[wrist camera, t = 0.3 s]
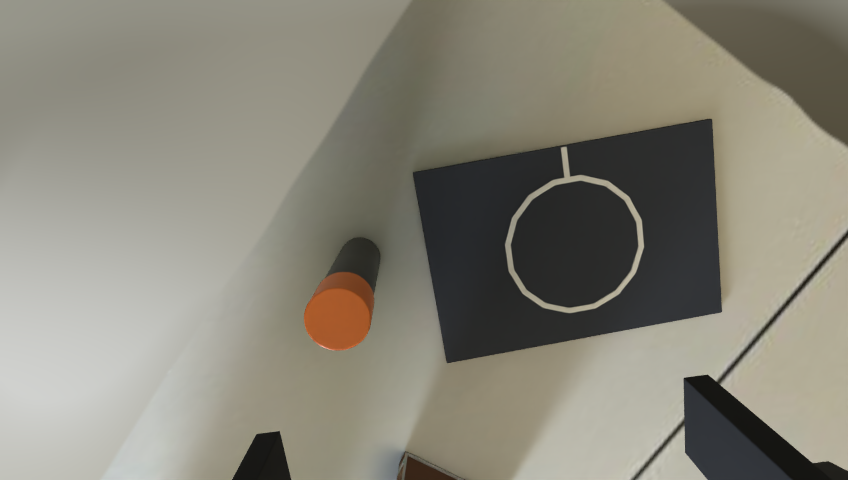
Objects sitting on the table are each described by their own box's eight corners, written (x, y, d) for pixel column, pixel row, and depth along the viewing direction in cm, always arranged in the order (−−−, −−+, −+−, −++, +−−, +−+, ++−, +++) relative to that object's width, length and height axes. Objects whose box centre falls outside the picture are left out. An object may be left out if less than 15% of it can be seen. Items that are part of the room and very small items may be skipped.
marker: (334, 240, 35) (297, 294, 22) (377, 232, 35) (363, 282, 22) (343, 281, 36) (311, 356, 23) (385, 273, 36) (376, 344, 23)
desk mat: (412, 172, 34) (413, 172, 34) (708, 119, 35) (713, 118, 34) (446, 361, 37) (447, 364, 37) (718, 310, 38) (723, 312, 37)
